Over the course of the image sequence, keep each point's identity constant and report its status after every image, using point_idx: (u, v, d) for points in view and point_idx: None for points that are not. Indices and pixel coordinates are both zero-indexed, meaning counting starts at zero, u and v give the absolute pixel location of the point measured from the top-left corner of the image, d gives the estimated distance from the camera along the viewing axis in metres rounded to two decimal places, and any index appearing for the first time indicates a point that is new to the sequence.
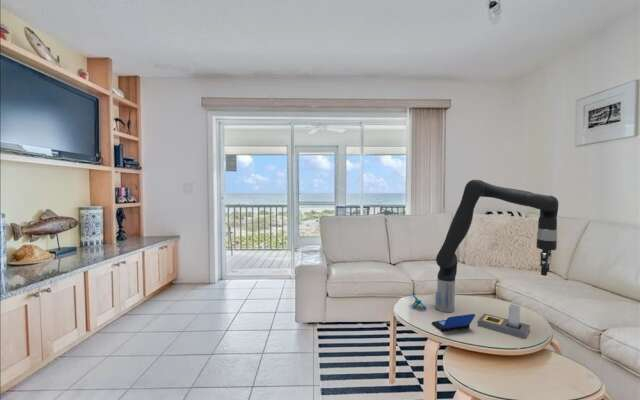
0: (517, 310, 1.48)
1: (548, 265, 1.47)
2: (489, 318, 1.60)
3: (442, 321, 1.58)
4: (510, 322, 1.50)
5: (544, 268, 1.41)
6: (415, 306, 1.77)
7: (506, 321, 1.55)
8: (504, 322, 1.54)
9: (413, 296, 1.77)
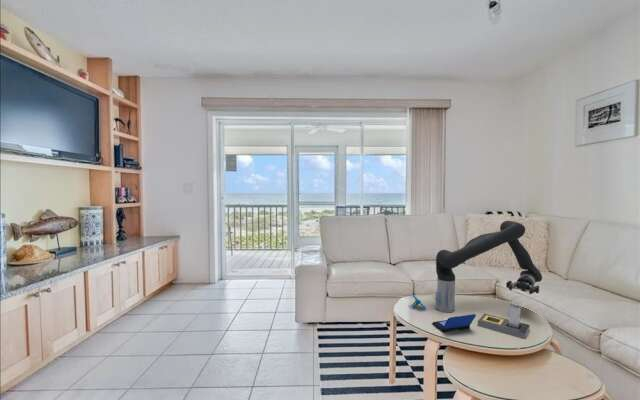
0: (517, 310, 1.48)
1: (512, 288, 1.64)
2: (489, 318, 1.60)
3: (442, 321, 1.57)
4: (510, 322, 1.50)
5: (533, 291, 1.58)
6: (415, 306, 1.77)
7: (506, 321, 1.55)
8: (504, 322, 1.54)
9: (413, 296, 1.78)
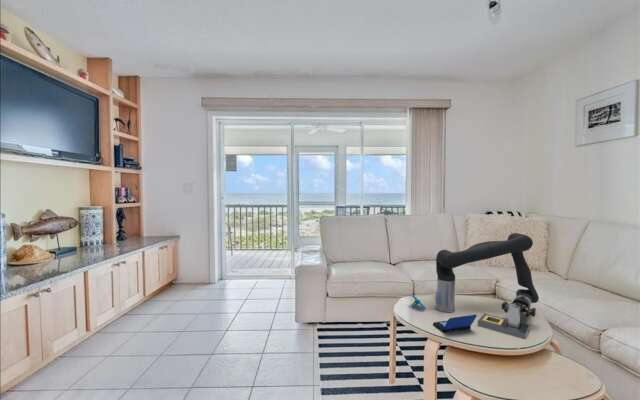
0: (517, 310, 1.48)
1: (507, 310, 1.58)
2: (489, 318, 1.60)
3: (443, 322, 1.57)
4: (510, 322, 1.50)
5: (529, 314, 1.52)
6: (414, 306, 1.77)
7: (506, 321, 1.55)
8: (504, 322, 1.54)
9: (412, 296, 1.78)
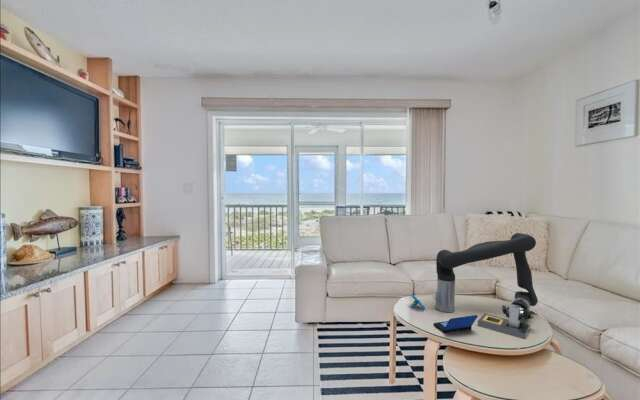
0: (517, 310, 1.48)
1: None
2: (489, 318, 1.60)
3: (444, 322, 1.56)
4: (510, 322, 1.50)
5: (522, 317, 1.48)
6: (413, 306, 1.77)
7: (506, 321, 1.55)
8: (504, 322, 1.54)
9: (412, 296, 1.78)
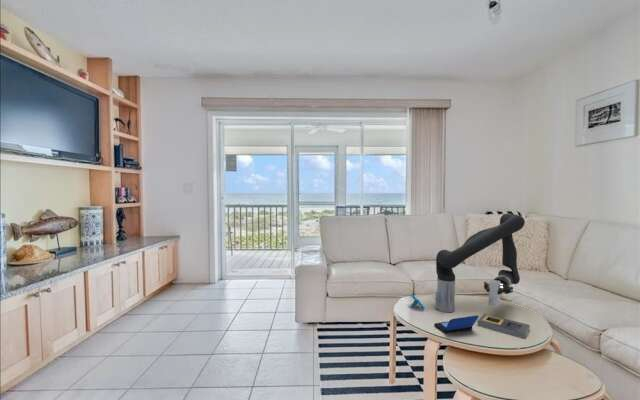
0: (497, 284, 1.53)
1: None
2: (489, 318, 1.60)
3: (444, 323, 1.56)
4: (490, 296, 1.55)
5: (502, 291, 1.54)
6: (413, 306, 1.78)
7: (506, 321, 1.55)
8: (504, 322, 1.54)
9: (411, 295, 1.78)
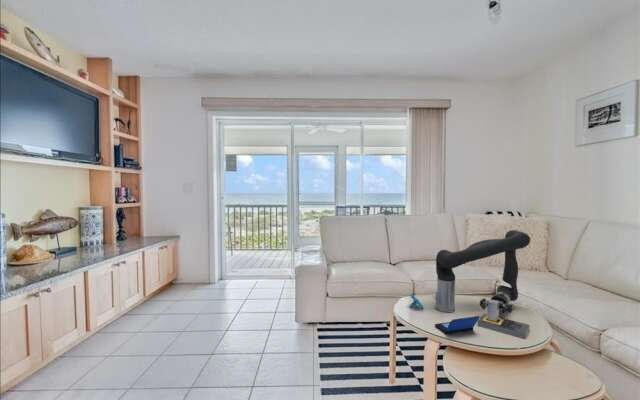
0: (495, 305, 1.54)
1: (485, 307, 1.60)
2: None
3: (445, 323, 1.55)
4: (489, 317, 1.56)
5: (506, 310, 1.54)
6: (412, 305, 1.78)
7: (506, 321, 1.55)
8: (504, 322, 1.54)
9: (410, 295, 1.78)
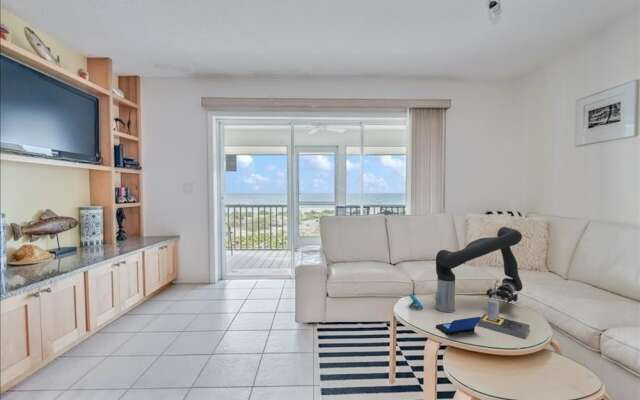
0: (495, 305, 1.54)
1: (492, 296, 1.70)
2: None
3: (446, 324, 1.54)
4: (489, 317, 1.56)
5: (511, 299, 1.64)
6: (411, 305, 1.78)
7: (506, 321, 1.55)
8: (504, 322, 1.54)
9: (410, 295, 1.79)
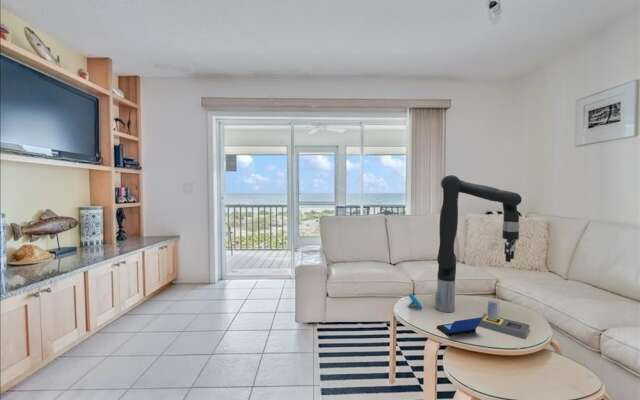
0: (495, 305, 1.54)
1: (513, 253, 1.69)
2: None
3: (448, 325, 1.53)
4: (489, 317, 1.56)
5: (508, 255, 1.62)
6: (411, 305, 1.78)
7: (506, 321, 1.55)
8: (504, 322, 1.54)
9: (409, 295, 1.79)
